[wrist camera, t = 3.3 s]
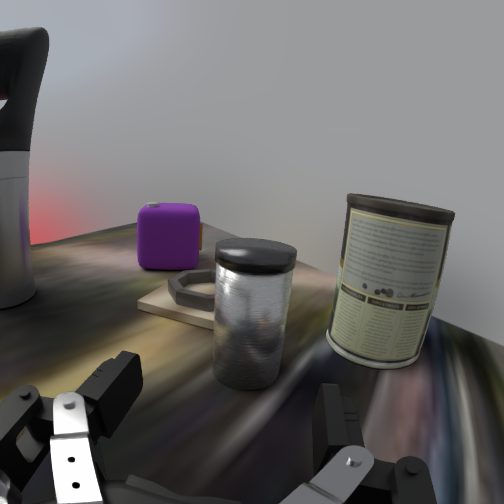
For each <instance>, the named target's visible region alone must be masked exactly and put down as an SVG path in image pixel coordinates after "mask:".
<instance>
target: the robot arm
mask: <svg viewBox="0 0 504 504" xmlns="http://www.w3.org/2000/svg"><path fill="white" fill-rule="evenodd" d="M48 51H49V36H48V33H47V31H46V30H45V29H44V28H42V27H31V28H22V29H14V30H8V31H2V32H0V100H7V99H8V100H7V102H6V104H5V105H4V107H3V108H2V109H1V110H0V309H1V308H7V307H11V306H15V305H18V304H20V303H23V302H25V301H27V300H28V299H30V298H31V297H32V296H33V295H34V294H35V292H36V288H35V281H34V273H33V265H32V255H31V244H30V230H29V205H28V203H29V202H28V184H29V177H28V176H29V157H30V152H29V151H30V143H31V135H32V129H33V121H34V114H35V108H36V103H37V98H38V93H39V89H40V85H41V81H42V77H43V74H44V70H45V65H46V62H47V56H48ZM142 387H143V377H142V369H141V361H140V356H139V355H138V354H135V353H131V352H127V351H122V352H121V353H120V354H119V355H118V356H117V357H116V358H115V359H113V358H111V359H109V360H107V361H105V362H103V363H102V364H101V365H100V366H99V367H98V368H97V370H95V371H94V372H93V373H92V375H90V376H89V377H88V378H87V380H86V381H85V382H84V383H83V384H82V385H81V386H80V387H79V388H78V389H77V390H76V391H75V392H64V393H61V394H59V395H58V396H57V397H56V398H55V399H54V398H48V397H42V396H40V394H39V391H38V389H37V388H36V387H34V386H32V385H21V386H19V387H17V388H16V389H14V390H13V391H12V392H11V393H10V394H9V395H8V396H7V397H6V398H5V399H4V400H3V401H2V402H1V403H0V504H21V503H22V495H21V492H22V490H23V489H24V487H25V486H26V484H27V483H28V481H29V480H30V478H31V477H32V475H33V474H34V472H35V471H36V469H37V468H38V467H39V465H40V464H41V462H42V461H43V459H44V458H45V456H46V455H47V454H48V452H49V451H50V449H51V457H52V467H53V475H54V483H55V490H56V496H57V497H56V498H52V499H49V500H45V501H42V502H38V503H34V504H241V501H234V500H228V499H222V498H217V497H197V496H181V495H178V494H176V493H174V492H172V491H170V490H168V489H166V488H164V487H163V486H161V485H159V484H157V483H155V482H152V481H149V480H146V479H143V478H140V477H137V476H134V475H131V474H130V475H129V477H128V479H127V480H109V479H108V476H107V473H106V470H105V466H104V462H103V458H102V454H101V450H100V446H99V442H98V438H99V437H100V436H101V435H102V436H104V437H107V438H109V439H110V437H111V436H112V434H113V433H114V431H115V430H116V428H117V427H118V425H119V424H120V422H121V421H122V419H123V418H124V416H125V415H126V413H127V412H128V410H129V409H130V407H131V406H132V404H133V403H134V401H135V400H136V399H137V397H138V396H139V394H140V392H141V390H142ZM25 426H26V428H27V430H26V431H25V432H24V433H23V435H22V436H21V437H20V438H19V440H18V441H17V442H16V437H17V435H18V434H19V433H20V432H21V430H22V429H23V428H24V427H25ZM312 437H313V467H314V478H313V479H312V480H311V481H310V482H304V483H303V484H301V485H300V486H299V487H298V488H297V489H296V490H294V491H293V492H292V493H291V494H290V495H289V496H288V497H286V498H285V499H284V500H283V501H282V502H281V503H279V504H437V501H436V497H435V493H434V489H433V485H432V481H431V477H430V473H429V470H428V467H427V465H426V463H425V462H424V461H423V460H421V459H419V458H417V457H412V456H408V457H403V458H401V459H400V460H398V461H397V463H396V464H395V463H390V462H384V461H380V460H377V459H375V458H374V457H373V455H372V453H371V452H370V451H369V450H367V449H366V448H365V446H364V442H363V437H362V432H361V428H360V423H359V419H358V414H357V410H356V405H355V403H354V402H353V401H352V399H351V398H350V397H349V396H341V395H340V389H339V385H338V384H324V383H321V384H320V387H319V391H318V394H317V398H316V401H315V405H314V409H313V414H312Z"/></svg>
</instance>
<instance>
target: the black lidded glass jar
mask: <svg viewBox="0 0 504 504" xmlns="http://www.w3.org/2000/svg"><path fill="white" fill-rule="evenodd" d="M296 256H297V250H296V249H295V248H294V247H292V246H290V245H287V244H284V243H281V242H276V241H271V240H264V239H255V238H232V239H225V240H221V241H219V242H217V243H216V252H215V261H216V283H215V307H214V336H213V374H214V376H215V377H216V379H217V380H218V381H220V382H221V383H222V384H224V385H226V386H228V387H230V388H233V389H238V390H245V391H253V390H259V389H263V388H266V387H268V386H270V385H271V384H273V383H274V382H275V381H276V379H277V377H278V373H279V367H280V361H281V354H282V348H283V341H284V335H285V328H286V321H287V314H288V306H289V299H290V291H291V284H292V276H293V269H294V268H295V264H296Z"/></svg>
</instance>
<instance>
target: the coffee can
mask: <svg viewBox="0 0 504 504" xmlns="http://www.w3.org/2000/svg"><path fill="white" fill-rule="evenodd" d="M347 203H348V204H347V213H346V221H345V229H344V237H343V244H342V251H341V259H340V266H339V272H338V278H337V284H336V289H335V295H334V301H333V306H332V311H331V316H330V321H329V327H328V330H327V333H326V337H327V341H328V343H329V345H330V346H331V347H332V348H333V349H334V350H335V351H336V352H337V353H338V354H340V355H341V356H343V357H344V358H346V359H348V360H350V361H352V362H354V363H357V364H360V365H364V366H367V367H371V368H379V369H394V368H400V367H404V366H407V365H410V364H412V363H413V362H415V361H416V360H417V358H418V357H419V355H420V350H421V347H422V344H423V341H424V338H425V335H426V332H427V328H428V325H429V322H430V319H431V315H432V311H433V308H434V305H435V301H436V297H437V293H438V289H439V285H440V281H441V277H442V273H443V269H444V264H445V259H446V254H447V249H448V244H449V238H450V232H451V226H452V221H453V220H454V217H455V213H454V212H453V211H450V210H446V209H442V208H438V207H433V206H428V205H423V204H418V203H413V202H407V201H402V200H396V199H389V198H384V197H377V196H369V195H362V194H347Z"/></svg>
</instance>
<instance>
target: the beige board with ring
mask: <svg viewBox="0 0 504 504" xmlns="http://www.w3.org/2000/svg"><path fill="white" fill-rule="evenodd" d="M215 283H216V269H200V270H186V271H182V272H180V273H178V274H177V275H175V276H173V277H171V278H169V279H168V283H167V284H165V285H163V286H162V287H160V288H158V289H156V290H155V291H153V292H151V293H149V294H148V295H146V296H144V297H143V298H141V299H139V300H137V306H138V309H139V310H143V311H146V312H150V313H153V314H156V315H160V316H163V317H167V318H171V319H174V320H178V321H181V322H185V323H189V324H193V325H197V326H201V327H204V328H208V329H212V330H214V307H215Z"/></svg>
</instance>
